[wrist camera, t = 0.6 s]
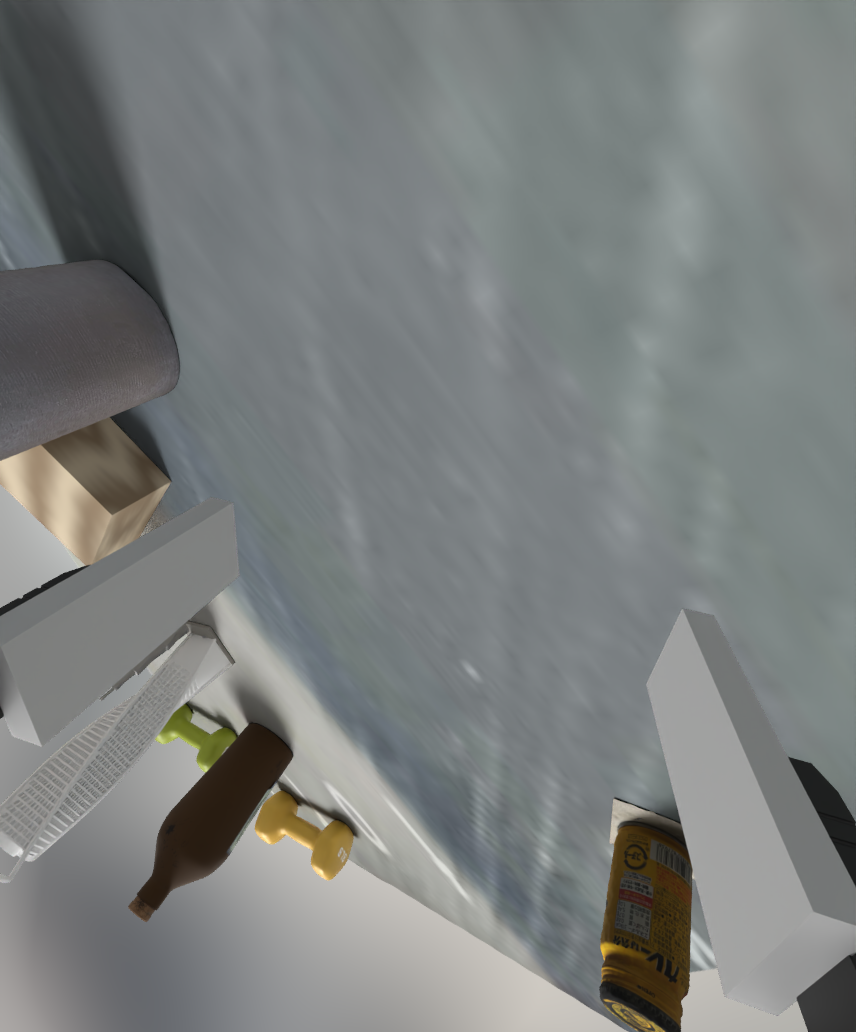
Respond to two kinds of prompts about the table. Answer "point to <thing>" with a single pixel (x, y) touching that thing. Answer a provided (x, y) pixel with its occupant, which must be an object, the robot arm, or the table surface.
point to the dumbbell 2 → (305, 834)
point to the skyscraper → (107, 746)
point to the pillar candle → (76, 350)
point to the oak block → (87, 488)
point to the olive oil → (213, 815)
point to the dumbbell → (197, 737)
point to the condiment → (647, 921)
